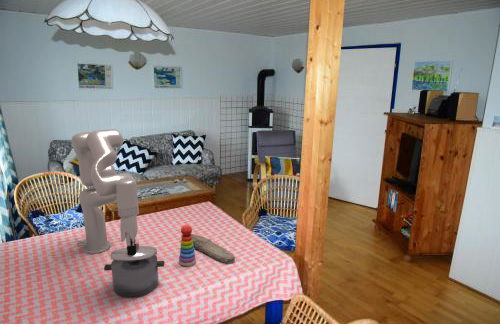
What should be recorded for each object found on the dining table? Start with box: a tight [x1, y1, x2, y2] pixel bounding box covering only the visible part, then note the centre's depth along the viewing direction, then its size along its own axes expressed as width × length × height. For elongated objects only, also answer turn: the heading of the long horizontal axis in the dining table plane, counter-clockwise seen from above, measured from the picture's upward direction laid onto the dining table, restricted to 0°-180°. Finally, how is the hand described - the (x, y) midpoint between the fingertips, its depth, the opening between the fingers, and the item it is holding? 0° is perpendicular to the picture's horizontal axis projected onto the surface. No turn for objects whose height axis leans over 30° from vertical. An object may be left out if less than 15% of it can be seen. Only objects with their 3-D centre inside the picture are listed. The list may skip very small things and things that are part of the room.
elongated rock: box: [191, 233, 236, 264], centre depth 176 cm, size 35×5×10 cm
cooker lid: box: [110, 242, 158, 261], centre depth 145 cm, size 18×18×4 cm
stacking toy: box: [178, 224, 197, 267], centre depth 163 cm, size 8×8×19 cm
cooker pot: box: [103, 254, 165, 299], centre depth 147 cm, size 24×19×12 cm
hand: (132, 253), depth 139 cm, fingers closed
